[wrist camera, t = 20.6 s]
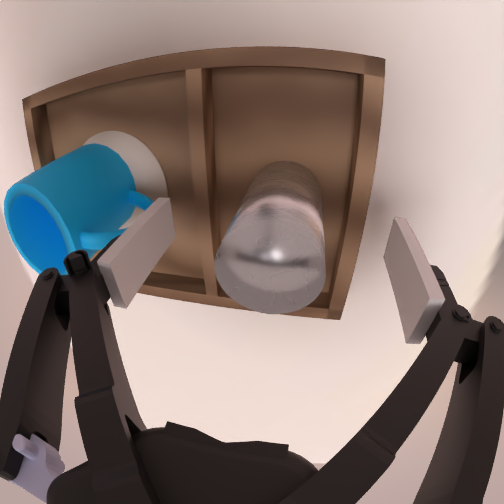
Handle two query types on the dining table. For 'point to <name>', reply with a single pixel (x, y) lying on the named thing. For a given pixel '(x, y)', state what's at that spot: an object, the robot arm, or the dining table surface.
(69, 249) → the mug
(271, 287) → the clear rounded cylinder
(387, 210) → the dining table surface
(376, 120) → the tray
